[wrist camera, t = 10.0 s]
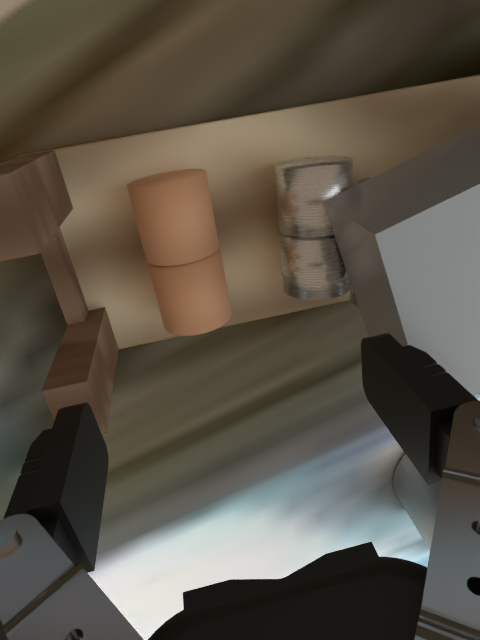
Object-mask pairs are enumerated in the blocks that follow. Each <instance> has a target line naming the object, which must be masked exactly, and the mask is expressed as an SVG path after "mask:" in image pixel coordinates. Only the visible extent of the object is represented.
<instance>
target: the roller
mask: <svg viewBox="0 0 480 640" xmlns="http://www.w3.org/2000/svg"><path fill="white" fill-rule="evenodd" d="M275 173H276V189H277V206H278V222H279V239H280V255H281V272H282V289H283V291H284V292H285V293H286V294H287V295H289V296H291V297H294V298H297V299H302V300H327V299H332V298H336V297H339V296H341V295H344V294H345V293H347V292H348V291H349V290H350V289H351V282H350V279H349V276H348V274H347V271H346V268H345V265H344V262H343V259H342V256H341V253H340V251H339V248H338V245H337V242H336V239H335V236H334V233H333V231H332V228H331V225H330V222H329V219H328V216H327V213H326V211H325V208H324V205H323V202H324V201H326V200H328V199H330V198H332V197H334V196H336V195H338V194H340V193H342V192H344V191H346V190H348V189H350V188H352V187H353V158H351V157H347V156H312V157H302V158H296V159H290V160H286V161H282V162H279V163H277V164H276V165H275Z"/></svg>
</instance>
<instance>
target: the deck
mask: <svg viewBox="0 0 480 640" xmlns="http://www.w3.org/2000/svg"><path fill="white" fill-rule="evenodd" d="M478 125H480V75H474V76H469V77H463V78H457V79H451V80H446V81H440V82H434V83H428V84H423V85H417V86H411V87H406V88H400V89H394V90H388V91H383V92H377V93H371V94H366V95H360V96H354V97H348V98H343V99H337V100H331V101H325V102H320V103H314V104H308V105H303V106H297V107H291V108H285V109H280V110H274V111H268V112H263V113H257V114H251V115H245V116H240V117H234V118H228V119H222V120H217V121H211V122H205V123H200V124H194V125H188V126H182V127H177V128H171V129H165V130H160V131H154V132H148V133H142V134H137V135H131V136H125V137H119V138H114V139H108V140H102V141H97V142H91V143H85V144H79V145H74V146H68V147H62V148H57V149H51V150H45V151H39V152H34V153H28V154H22V155H18V156H16V157H14V158H11V159H9V160H6V161H4V162H2V163H0V261H5V260H10V259H16V258H21V257H26V256H31V255H36V254H39V253H41V256H42V259H43V261H44V264H45V267H46V269H47V272H48V275H49V277H50V280H51V283H52V286H53V288H54V291H55V294H56V296H57V299H58V302H59V304H60V307H61V310H62V312H63V315H64V318H65V320H66V323H67V327H66V330H65V332H64V335H63V338H62V340H61V343H60V345H59V348H58V350H57V353H56V355H55V358H54V361H53V363H52V366H51V368H50V371H49V373H48V376H47V378H46V381H45V384H44V386H43V389H42V394H43V396H44V398H45V400H46V403H47V405H48V407H49V410H50V412H51V414H52V416H53V419H54V421H55V418H56V415H57V412H58V410H59V409H60V408H64V407H68V406H72V405H76V404H81V403H85V402H87V403H88V404H89V405H90V407H91V409H92V411H93V414H94V416H95V419H96V421H97V424H98V426H99V429H100V431H101V434H103V433H106V431H107V425H108V418H109V411H110V404H111V398H112V391H113V384H114V378H115V371H116V364H117V358H118V351H119V349H122V348H127V347H131V346H136V345H141V344H146V343H150V342H155V341H160V340H164V339H169V338H174V337H178V336H179V335H174V334H171V333H169V332H167V331H166V330H165V328H164V325H163V321H162V317H161V313H160V310H159V306H158V302H157V298H156V294H155V291H154V287H153V283H152V279H151V276H150V272H149V268H148V264H147V260H146V257H145V253H144V249H143V245H142V242H141V238H140V234H139V230H138V226H137V223H136V219H135V215H134V211H133V208H132V204H131V200H130V196H129V192H128V189H127V185H128V184H129V183H130V182H132V181H135V180H137V179H140V178H143V177H147V176H151V175H155V174H159V173H164V172H170V171H176V170H184V169H204V170H206V174H207V180H208V185H209V191H210V196H211V202H212V207H213V213H214V218H215V224H216V229H217V235H218V240H219V247H220V251H221V257H222V262H223V268H224V273H225V279H226V284H227V290H228V295H229V301H230V306H231V312H232V315H231V317H230V319H229V320H228V321H227V322H226V323H225V324H224V325H222V326H221V327H225V326H230V325H235V324H240V323H244V322H249V321H254V320H258V319H263V318H268V317H272V316H277V315H282V314H287V313H291V312H296V311H301V310H305V309H310V308H315V307H319V306H324V305H329V304H333V303H338V302H343V301H348V300H350V298H349V296H350V290H349V291H348V292H347V293H345V294H344V295H341V296H339V297H336V298H332V299H327V300H302V299H297V298H294V297H291V296H289V295H287V294H286V293H285V292H284V291H283V289H282V272H281V255H280V239H279V222H278V206H277V189H276V173H275V165H276V164H277V163H279V162H282V161H286V160H290V159H296V158H302V157H312V156H347V157H351V158H353V187H354V186H356V185H357V181H358V180H361V179H364V178H369V177H375V176H377V175H379V174H381V173H383V172H385V171H387V170H389V169H391V168H393V167H395V166H397V165H399V164H401V163H403V162H405V161H407V160H409V159H411V158H413V157H415V156H417V155H419V154H421V153H423V152H425V151H428V150H430V149H432V148H434V147H436V146H438V145H440V144H442V143H444V142H446V141H448V140H450V139H452V138H454V137H456V136H458V135H460V134H462V133H464V132H466V131H468V130H470V129H472V128H474V127H476V126H478ZM221 327H219V328H221Z"/></svg>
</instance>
